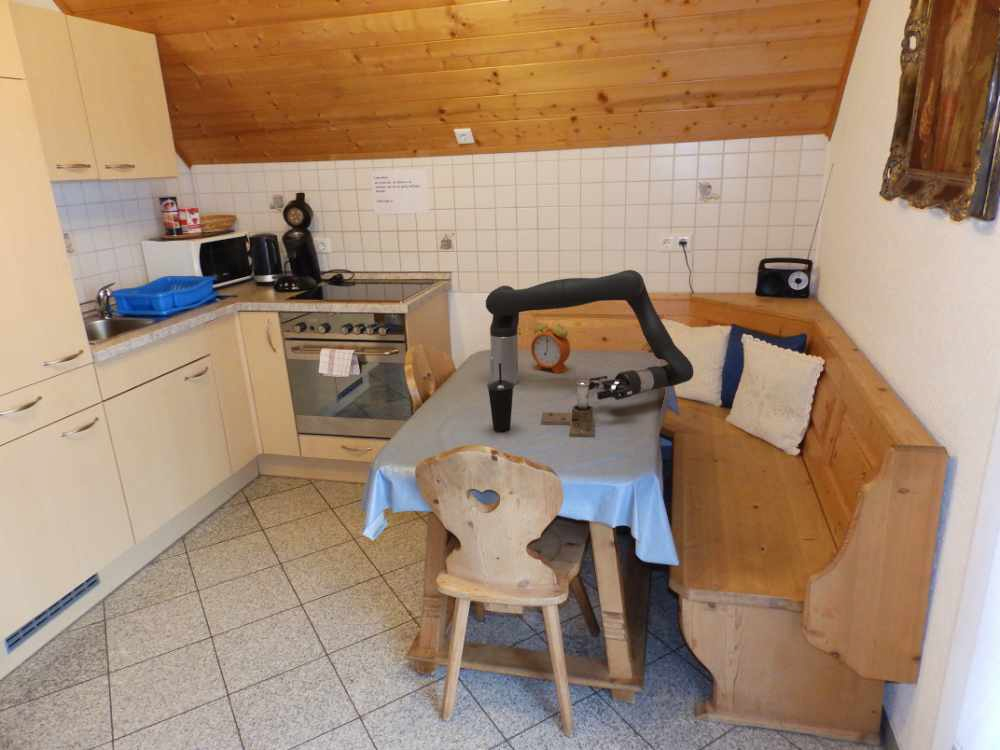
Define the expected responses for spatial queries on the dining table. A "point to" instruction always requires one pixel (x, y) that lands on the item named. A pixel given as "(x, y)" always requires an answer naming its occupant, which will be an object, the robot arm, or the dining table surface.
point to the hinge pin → (582, 395)
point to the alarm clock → (550, 348)
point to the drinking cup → (501, 403)
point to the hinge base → (573, 421)
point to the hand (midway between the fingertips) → (589, 391)
